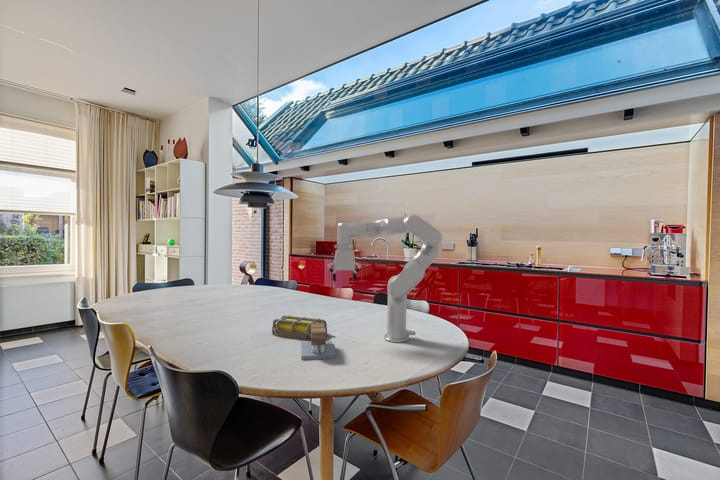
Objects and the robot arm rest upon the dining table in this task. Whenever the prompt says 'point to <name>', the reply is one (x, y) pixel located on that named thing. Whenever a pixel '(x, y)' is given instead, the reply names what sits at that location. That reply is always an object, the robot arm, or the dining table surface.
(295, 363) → the dining table surface
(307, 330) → the cage light
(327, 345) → the peg stand
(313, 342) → the brick
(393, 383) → the dining table surface
